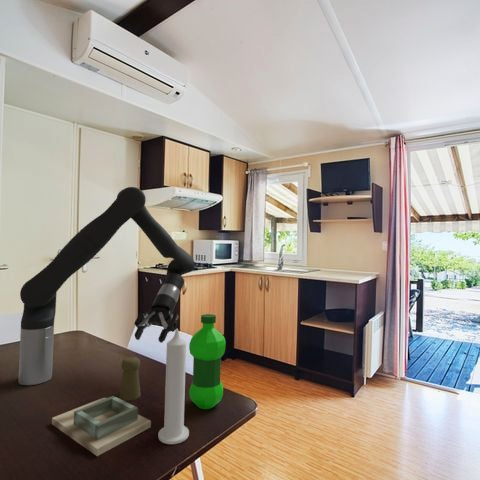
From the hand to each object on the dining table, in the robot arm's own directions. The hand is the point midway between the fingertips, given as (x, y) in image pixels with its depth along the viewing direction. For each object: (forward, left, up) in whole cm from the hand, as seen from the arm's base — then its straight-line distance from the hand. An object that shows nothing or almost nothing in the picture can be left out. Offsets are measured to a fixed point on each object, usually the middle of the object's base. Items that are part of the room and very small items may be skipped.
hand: (148, 340), depth 105 cm
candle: (+28, -15, -14) cm, 35 cm away
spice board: (+11, -23, -14) cm, 29 cm away
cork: (+3, -9, -14) cm, 17 cm away
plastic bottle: (+24, +1, -14) cm, 28 cm away
